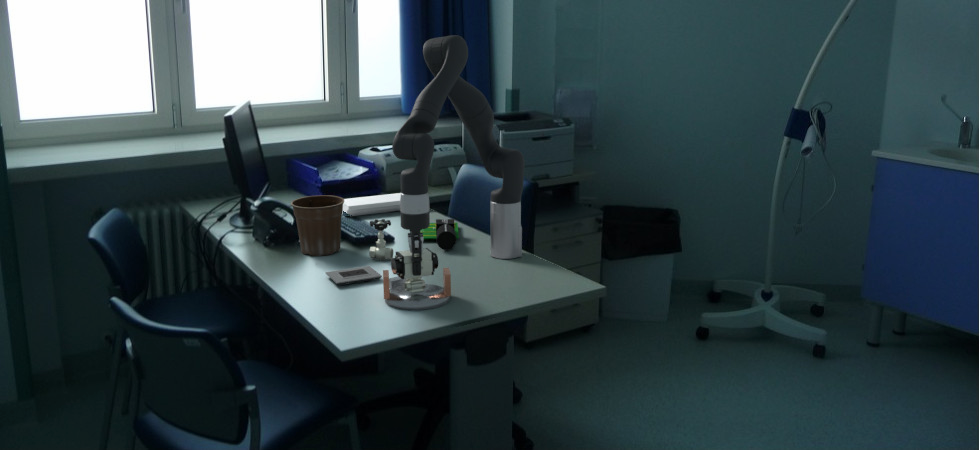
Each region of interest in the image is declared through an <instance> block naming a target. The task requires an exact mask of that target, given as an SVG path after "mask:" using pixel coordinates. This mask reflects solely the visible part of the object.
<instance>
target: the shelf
mask: <svg viewBox="0 0 980 450" xmlns="http://www.w3.org/2000/svg"><path fill="white" fill-rule="evenodd" d="M400 198H401V192H398V193H397V192H396V193H390V194H389V193H388V194H378V195H370V196H359V197H352V198H351V197H349V198H343V199H344V203H343V211H344V212H346V213H347V214H350V217H357V216H364V215H365V216H366V215H374V214H384V213H390V212H391V213H392V212H400ZM351 215H352V216H351Z"/></svg>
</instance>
